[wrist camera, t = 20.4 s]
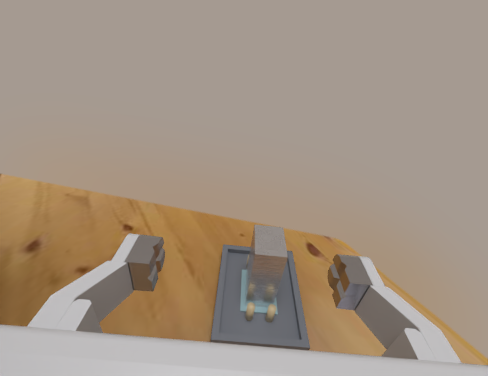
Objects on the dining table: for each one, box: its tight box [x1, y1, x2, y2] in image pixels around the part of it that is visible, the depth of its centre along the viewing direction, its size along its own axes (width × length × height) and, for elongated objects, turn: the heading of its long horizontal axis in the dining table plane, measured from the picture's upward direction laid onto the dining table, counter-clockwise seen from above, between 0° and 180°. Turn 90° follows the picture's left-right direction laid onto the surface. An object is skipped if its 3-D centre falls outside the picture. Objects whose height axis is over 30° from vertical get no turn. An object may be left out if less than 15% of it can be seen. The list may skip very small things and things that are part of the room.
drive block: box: [245, 225, 288, 307], centre depth 39 cm, size 4×6×12 cm
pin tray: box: [211, 245, 310, 350], centre depth 42 cm, size 14×18×4 cm
